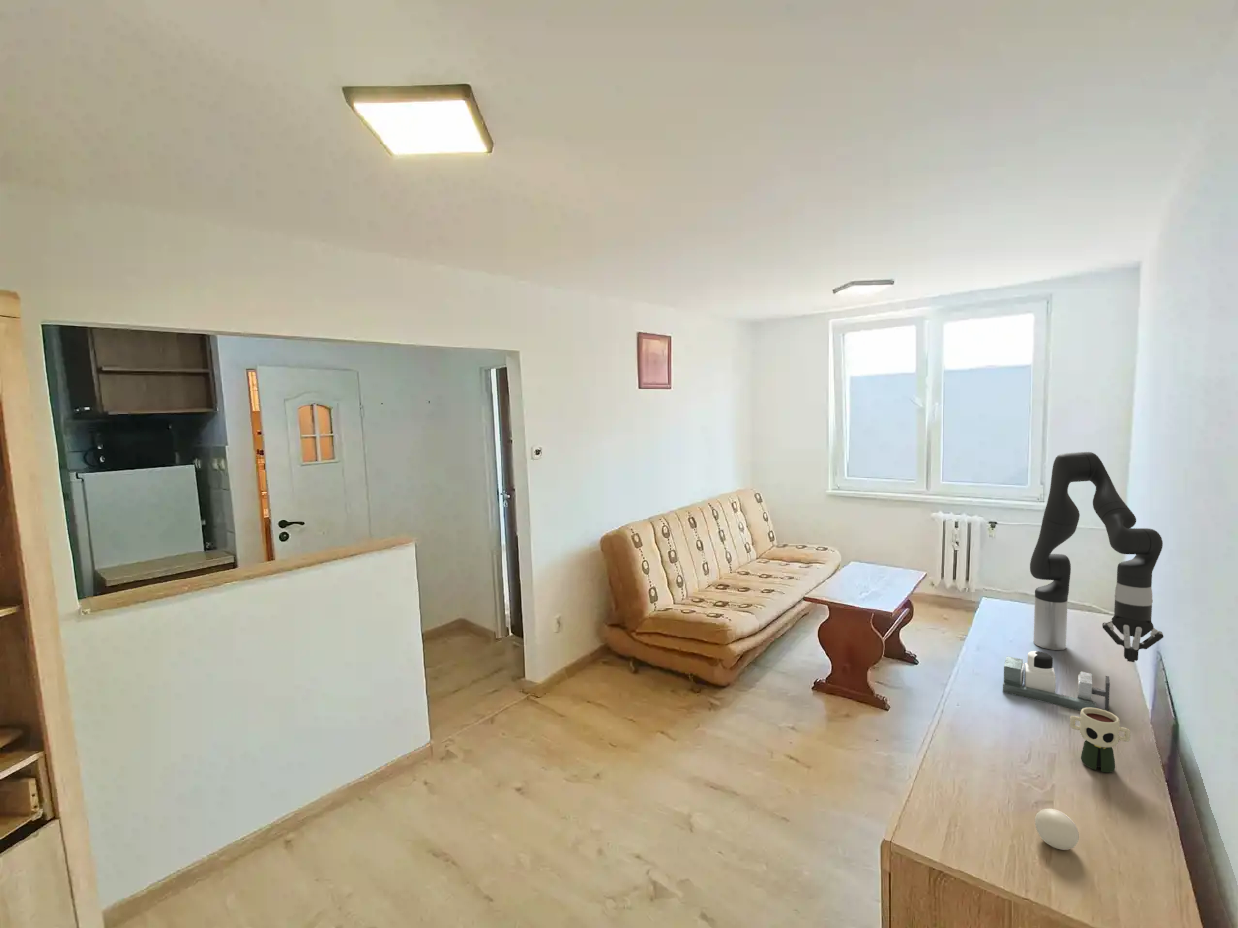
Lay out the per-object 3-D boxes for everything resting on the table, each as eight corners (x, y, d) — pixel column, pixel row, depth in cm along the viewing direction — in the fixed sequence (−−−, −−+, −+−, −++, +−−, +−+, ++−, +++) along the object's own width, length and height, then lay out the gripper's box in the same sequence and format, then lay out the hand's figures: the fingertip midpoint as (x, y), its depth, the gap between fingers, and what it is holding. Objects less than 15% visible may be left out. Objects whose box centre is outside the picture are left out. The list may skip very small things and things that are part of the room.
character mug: (1068, 765, 135) (1070, 714, 133) (1068, 750, 140) (1070, 701, 139) (1129, 782, 128) (1132, 729, 127) (1126, 766, 134) (1129, 715, 132)
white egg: (1062, 830, 115) (1063, 800, 114) (1086, 859, 108) (1087, 827, 107) (1026, 828, 116) (1027, 798, 115) (1047, 856, 109) (1048, 824, 108)
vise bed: (1006, 678, 177) (1006, 656, 176) (1095, 698, 163) (1096, 674, 162) (1002, 691, 169) (1003, 668, 168) (1095, 714, 155) (1096, 688, 155)
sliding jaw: (1077, 694, 166) (1078, 668, 165) (1107, 701, 161) (1109, 674, 160) (1077, 705, 160) (1078, 678, 159) (1108, 712, 155) (1110, 685, 155)
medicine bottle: (1052, 689, 169) (1054, 651, 168) (1055, 700, 163) (1056, 661, 162) (1024, 683, 173) (1025, 646, 172) (1025, 694, 167) (1026, 655, 166)
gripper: (1165, 600, 151) (1162, 661, 153) (1101, 592, 160) (1098, 650, 161) (1168, 608, 146) (1165, 672, 147) (1101, 599, 154) (1099, 659, 156)
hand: (1130, 660), depth 154 cm, fingers closed
